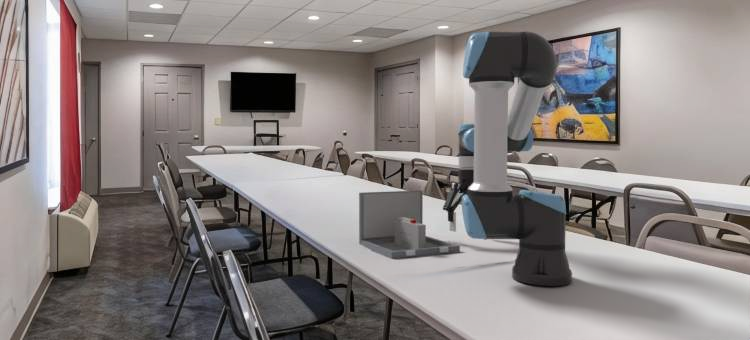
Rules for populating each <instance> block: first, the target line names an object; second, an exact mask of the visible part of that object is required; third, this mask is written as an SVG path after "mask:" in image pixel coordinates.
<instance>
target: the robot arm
mask: <svg viewBox="0 0 750 340" xmlns="http://www.w3.org/2000/svg"><path fill="white" fill-rule="evenodd" d="M467 40H468V41H467V44H466V46H465V47H466V48H465V52H464V53H465V54H464V59H463V67H462V76H463V78H465V79H468V86H469V88H471V89H472V90H473V91H474V113H473V114H474V116H473V117H474V119H473V121H474V123H464V124H463V123H462V124H461V123H460V125H459V126H458V132H457V133H458V135H457V136H458V168H459V170H458V171H457V173H458V183H457V182H451V183H450V190H449V192H448V194H447V197H446V200H445V201H444V203H443V206H442V210H443V211H445V212H447V221H448V222H449V231H451V232H453V233H455V232H457V212H455V211H456V209H457V207H458V206H459V205H460V203H461V210H462V218H463V224H464V228H465V232H466V234H467V236H469V237H470V238H471V239H475V240H476V239H477V240H483V241H487V240H518V242H519V243H518V245H519V246H518V247H519V248H518V251H517V254H516V258H515V260H514V261H515V262H514V265H513V266H512V269H511V277H512V279H514V280H515V281H517V282H521V283H525V284H530V285H534V286H535V285H536V286H547V287H548V286H550V287H551V286H564V285H569V284H570V283H573V272H572V270H571V269H570V263H569V260H568V257H567V253H566V252H567V251H566V219H567V217H566V215H567V208H566V200H565V198H564V197H563V196H562V195H559V194H555V193H551V192H550V193H549V192H544V191H538V190H537V191H535V190H527V189H521V190H519V192H518V195H514V193H513V190H514V189H513V188H512V187H511V186H510V184H509V183H508V152H511V153H512V152H516V153H520V152H529V151H531V150H532V148H533V144H534V133H533V131H532V129H531V127H532V125H533V123H534V120H535V117H536V114H537V112H538V110H539V107H540V104H541V102H542V100H543V97H544V94H545V91H546V89H547V88H548V87H550V85H552V84H553V82H554V79H555V76H556V74H557V69H558V60H557V55H556V52H555V50H554V48H553V47H552V45H551V44H550V42H549V41H548V40H547V39H546V37H545V38H544V36H542V35H540V34H538V33H536V32H533V31H483V32H474V33H472V34H471V35H470V37H469V38H468V39H467ZM516 78H518V84H517V87H516V90H515V93H514V97H513V100H512V104H511V106H510V109H508V108H509V91H510V89H512V88H513V87H514V85H515V79H516Z"/></svg>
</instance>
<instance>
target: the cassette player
mask: <svg viewBox="0 0 750 340" xmlns="http://www.w3.org/2000/svg"><path fill="white" fill-rule="evenodd" d="M426 228H427V227H426V224H423V223H422V224H420V223H416V220H413V219H409V218H405V217H398V219H396V220H395V242H394V244H395V245H396V246H398V247H401V248H402V249H403V250H409V249H420V248H427V247H426V245H427V244H426V242H427V241H426V236H427V235H426V230H427V229H426Z"/></svg>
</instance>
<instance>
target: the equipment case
mask: <svg viewBox="0 0 750 340" xmlns="http://www.w3.org/2000/svg"><path fill="white" fill-rule="evenodd" d="M423 191H424V190H421V189H419V190H398V191H397V190H395V191H372V192H370V191H367V192H364V191H363V192H359V193H358V235H359V236H358V241H359V242H358V244H359V245H361V246H362V247H364V248H365V249H368V250H370V251H371V252H374V253H377V254H380V255H382V256H384V257H387V258H389V259H391V260H392V259H401V258H413V257H422V256H432V255H440V254H442V255H443V254H450V253H452V254H453V253H460V251H461V249H460V248H461V246H460V245H459V244H455V243H452V242H448V241H445V240H440V239H437V238H434V237H431V236H427V235H426V242H429V243H432V244H434V245H436V246H432V247H426V248H420V249H409V250H407V249H401V250H392V249H390V248H387V247H383V246H382V245H380V244H386V243H395V220H396V219H398V217H405V218H409V219H413V220H416V223H420V224H423V212H424V211H423V202H424V201H423V199H424V198H423V196H424V195H423V193H424V192H423Z"/></svg>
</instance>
